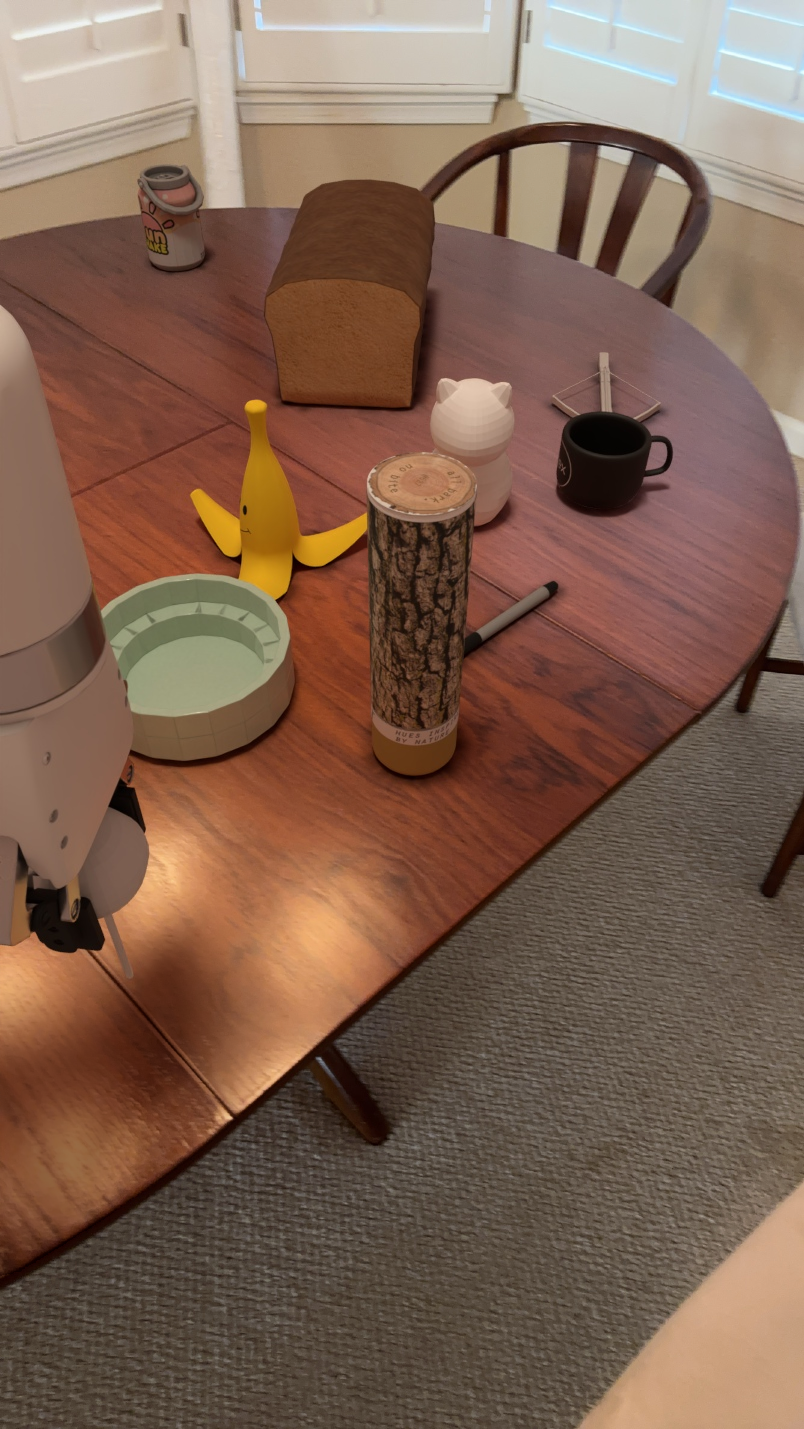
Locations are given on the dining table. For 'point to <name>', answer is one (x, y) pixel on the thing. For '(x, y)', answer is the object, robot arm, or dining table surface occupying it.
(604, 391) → the crossbow
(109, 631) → the bowl
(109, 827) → the lollipop
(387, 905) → the dining table surface
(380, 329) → the bread
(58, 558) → the robot arm
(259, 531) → the banana peel
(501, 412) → the cat figurine
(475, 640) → the pen
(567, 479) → the mug
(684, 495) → the dining table surface
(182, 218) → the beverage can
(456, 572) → the paper tube
